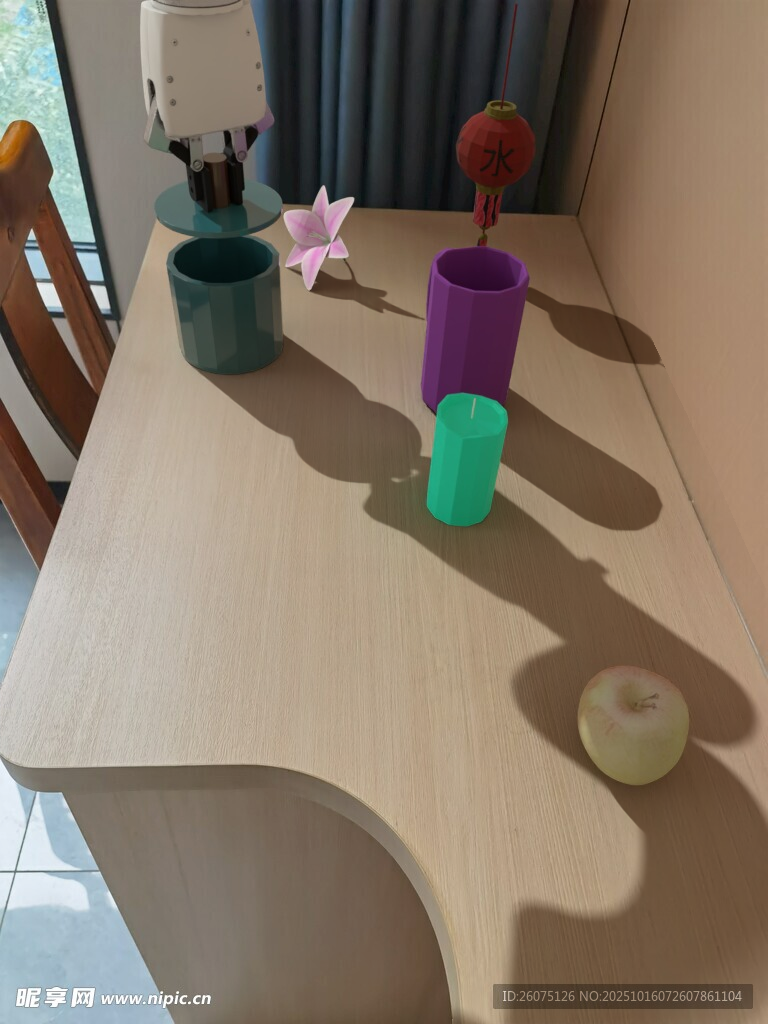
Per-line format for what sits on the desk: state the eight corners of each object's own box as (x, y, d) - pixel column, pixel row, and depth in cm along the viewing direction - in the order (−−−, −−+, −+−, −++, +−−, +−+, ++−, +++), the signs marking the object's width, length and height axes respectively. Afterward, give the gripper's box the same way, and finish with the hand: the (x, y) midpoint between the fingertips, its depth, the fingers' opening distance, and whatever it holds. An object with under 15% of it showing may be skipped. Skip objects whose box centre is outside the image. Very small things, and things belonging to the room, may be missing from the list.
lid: (148, 244, 74) (137, 184, 70) (163, 187, 83) (155, 131, 79) (282, 245, 75) (279, 186, 71) (283, 188, 84) (281, 133, 80)
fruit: (694, 768, 56) (735, 708, 50) (615, 818, 53) (649, 760, 48) (621, 686, 61) (651, 622, 55) (545, 727, 58) (568, 665, 52)
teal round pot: (175, 374, 85) (160, 286, 78) (185, 317, 93) (173, 231, 86) (282, 374, 86) (278, 286, 79) (284, 317, 94) (280, 232, 87)
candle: (412, 499, 74) (422, 394, 65) (458, 472, 77) (473, 368, 68) (458, 536, 71) (476, 431, 62) (504, 506, 74) (526, 402, 65)
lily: (287, 249, 108) (257, 199, 100) (368, 216, 106) (344, 162, 98) (302, 318, 103) (271, 271, 95) (388, 285, 101) (364, 234, 93)
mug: (436, 431, 81) (452, 298, 70) (389, 346, 91) (397, 220, 81) (519, 417, 83) (547, 286, 73) (464, 336, 93) (481, 211, 83)
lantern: (515, 287, 102) (565, 19, 81) (441, 281, 102) (471, 12, 81) (513, 252, 108) (557, -5, 87) (443, 246, 109) (471, -11, 87)
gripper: (261, -36, 71) (272, 172, 84) (82, -19, 64) (125, 205, 77) (304, -16, 67) (309, 200, 80) (117, 5, 60) (156, 237, 73)
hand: (218, 201), depth 78 cm, fingers closed on lid, 2 cm apart
